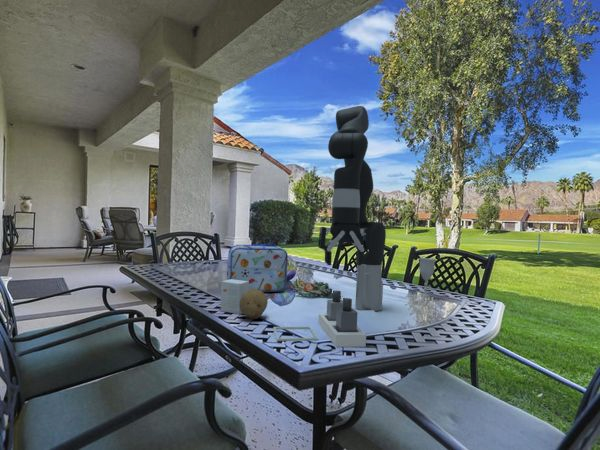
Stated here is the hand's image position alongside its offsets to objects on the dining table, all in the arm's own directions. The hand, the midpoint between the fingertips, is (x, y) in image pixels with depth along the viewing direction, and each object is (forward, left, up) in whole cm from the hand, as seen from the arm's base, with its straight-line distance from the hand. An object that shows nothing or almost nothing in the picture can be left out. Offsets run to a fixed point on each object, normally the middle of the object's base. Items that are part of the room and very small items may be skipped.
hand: (343, 265), depth 95 cm
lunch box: (+20, -63, -21) cm, 70 cm away
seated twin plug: (0, -7, -20) cm, 21 cm away
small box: (+30, -30, -21) cm, 47 cm away
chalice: (-53, -49, -21) cm, 76 cm away
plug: (-1, +3, -20) cm, 20 cm away
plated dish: (-5, -64, -22) cm, 68 cm away
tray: (+13, -2, -21) cm, 24 cm away
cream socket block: (0, -2, -21) cm, 21 cm away
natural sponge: (+24, -19, -21) cm, 37 cm away
